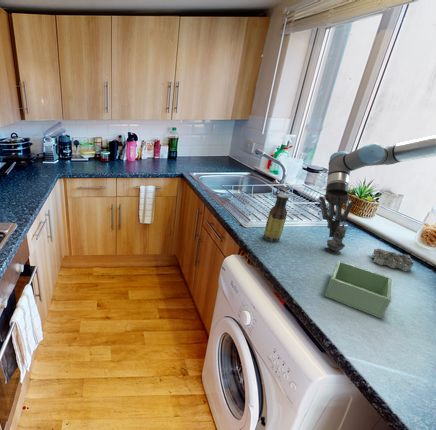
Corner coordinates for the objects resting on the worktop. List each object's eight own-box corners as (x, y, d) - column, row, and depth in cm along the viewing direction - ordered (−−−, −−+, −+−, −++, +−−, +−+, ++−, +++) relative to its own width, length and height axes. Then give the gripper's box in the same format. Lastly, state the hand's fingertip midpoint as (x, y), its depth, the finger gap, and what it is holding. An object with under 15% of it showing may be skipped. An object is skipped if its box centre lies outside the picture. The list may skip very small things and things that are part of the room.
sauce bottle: (267, 233, 125) (279, 191, 117) (281, 239, 121) (295, 195, 112) (259, 238, 121) (271, 194, 113) (274, 244, 117) (288, 199, 109)
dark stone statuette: (323, 245, 117) (333, 219, 112) (341, 250, 114) (352, 223, 109) (324, 252, 112) (334, 225, 107) (342, 256, 110) (354, 229, 104)
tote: (382, 294, 90) (391, 277, 87) (380, 318, 81) (391, 300, 78) (331, 276, 98) (338, 260, 95) (324, 295, 89) (331, 278, 86)
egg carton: (372, 263, 106) (377, 254, 104) (370, 254, 112) (374, 245, 110) (411, 273, 101) (416, 263, 99) (406, 263, 106) (411, 253, 105)
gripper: (351, 191, 124) (347, 242, 118) (316, 187, 129) (310, 235, 122) (360, 183, 118) (356, 236, 111) (322, 179, 122) (317, 229, 116)
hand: (332, 236), depth 117 cm, fingers closed
